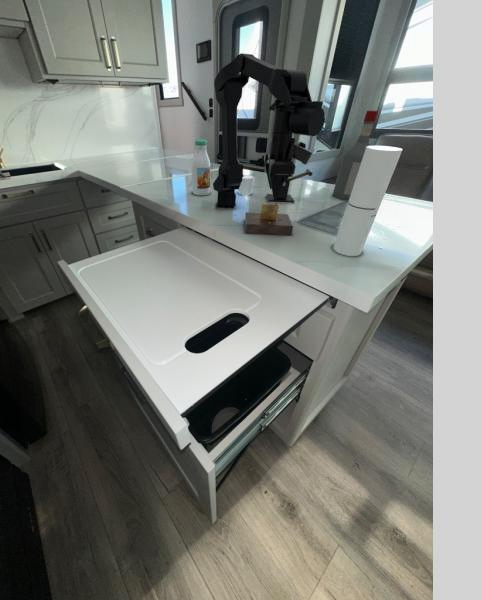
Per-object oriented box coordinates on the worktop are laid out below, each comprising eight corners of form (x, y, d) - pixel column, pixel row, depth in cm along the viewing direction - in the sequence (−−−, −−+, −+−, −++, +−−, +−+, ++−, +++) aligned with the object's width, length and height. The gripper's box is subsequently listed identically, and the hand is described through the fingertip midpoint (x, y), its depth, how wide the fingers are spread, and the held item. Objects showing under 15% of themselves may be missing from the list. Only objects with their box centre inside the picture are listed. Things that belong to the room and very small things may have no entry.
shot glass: (252, 192, 118) (254, 175, 113) (253, 196, 112) (255, 179, 108) (237, 191, 118) (238, 174, 114) (237, 196, 113) (238, 178, 108)
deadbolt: (260, 219, 84) (262, 204, 81) (260, 217, 85) (262, 202, 82) (276, 219, 83) (279, 204, 81) (275, 218, 85) (278, 203, 82)
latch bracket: (290, 197, 112) (294, 175, 106) (293, 203, 105) (298, 180, 100) (266, 196, 112) (269, 174, 107) (268, 202, 106) (271, 179, 100)
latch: (310, 173, 104) (309, 167, 103) (312, 176, 100) (312, 170, 99) (279, 184, 107) (277, 178, 106) (280, 188, 104) (279, 182, 102)
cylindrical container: (329, 244, 77) (360, 145, 61) (352, 243, 77) (389, 145, 62) (340, 256, 71) (378, 150, 56) (366, 255, 72) (410, 150, 56)
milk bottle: (190, 195, 113) (189, 141, 101) (194, 190, 119) (193, 138, 107) (208, 196, 112) (209, 141, 100) (211, 191, 118) (212, 139, 106)
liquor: (361, 199, 110) (393, 111, 91) (344, 202, 107) (373, 111, 89) (344, 193, 117) (371, 110, 98) (328, 196, 114) (352, 110, 95)
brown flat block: (245, 233, 82) (246, 223, 81) (244, 221, 90) (245, 212, 88) (291, 235, 82) (293, 225, 80) (286, 222, 90) (288, 213, 88)
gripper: (323, 137, 63) (307, 204, 72) (305, 129, 77) (294, 185, 87) (275, 136, 63) (266, 202, 73) (267, 128, 78) (260, 184, 87)
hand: (273, 193), depth 80 cm, fingers open, 9 cm apart
